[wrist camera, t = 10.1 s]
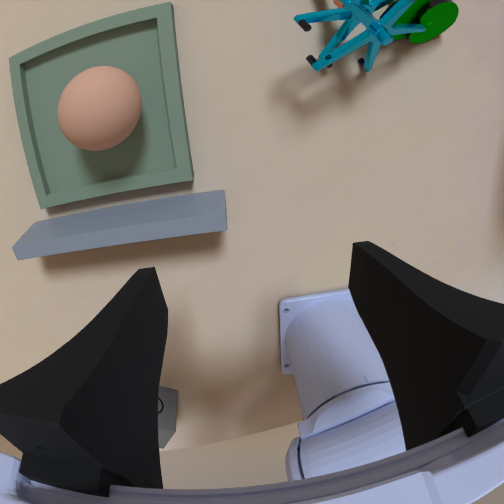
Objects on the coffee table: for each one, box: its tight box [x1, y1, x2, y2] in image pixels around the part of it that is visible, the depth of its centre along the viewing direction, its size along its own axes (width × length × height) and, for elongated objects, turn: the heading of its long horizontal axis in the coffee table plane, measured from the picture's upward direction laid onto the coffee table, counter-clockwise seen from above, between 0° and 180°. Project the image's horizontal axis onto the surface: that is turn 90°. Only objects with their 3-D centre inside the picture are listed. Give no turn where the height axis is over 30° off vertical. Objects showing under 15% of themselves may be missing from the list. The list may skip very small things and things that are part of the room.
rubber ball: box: [57, 66, 142, 151], centre depth 13 cm, size 4×4×4 cm
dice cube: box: [158, 386, 178, 448], centre depth 28 cm, size 5×5×5 cm
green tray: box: [9, 2, 194, 209], centre depth 15 cm, size 11×11×1 cm
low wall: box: [12, 190, 228, 260], centre depth 18 cm, size 1×14×4 cm, turn 95°
